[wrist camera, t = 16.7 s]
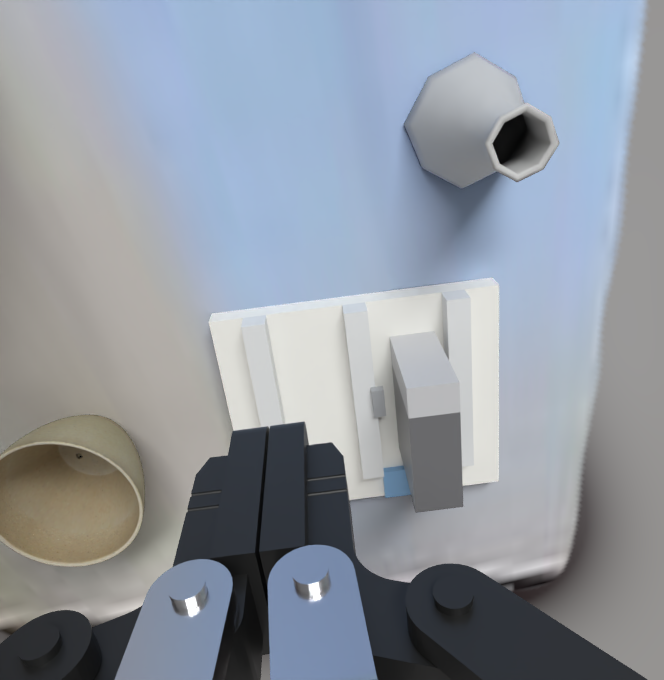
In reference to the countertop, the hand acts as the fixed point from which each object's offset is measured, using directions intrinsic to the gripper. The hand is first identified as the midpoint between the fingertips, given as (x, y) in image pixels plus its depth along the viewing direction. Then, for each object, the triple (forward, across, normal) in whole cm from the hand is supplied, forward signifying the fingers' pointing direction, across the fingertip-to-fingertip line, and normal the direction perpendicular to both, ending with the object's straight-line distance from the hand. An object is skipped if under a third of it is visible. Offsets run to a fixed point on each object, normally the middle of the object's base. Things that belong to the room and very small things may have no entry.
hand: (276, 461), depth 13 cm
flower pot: (+27, +17, +16) cm, 36 cm away
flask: (+27, -11, -3) cm, 30 cm away
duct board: (+27, -3, +15) cm, 31 cm away
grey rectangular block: (+26, -7, +14) cm, 30 cm away
